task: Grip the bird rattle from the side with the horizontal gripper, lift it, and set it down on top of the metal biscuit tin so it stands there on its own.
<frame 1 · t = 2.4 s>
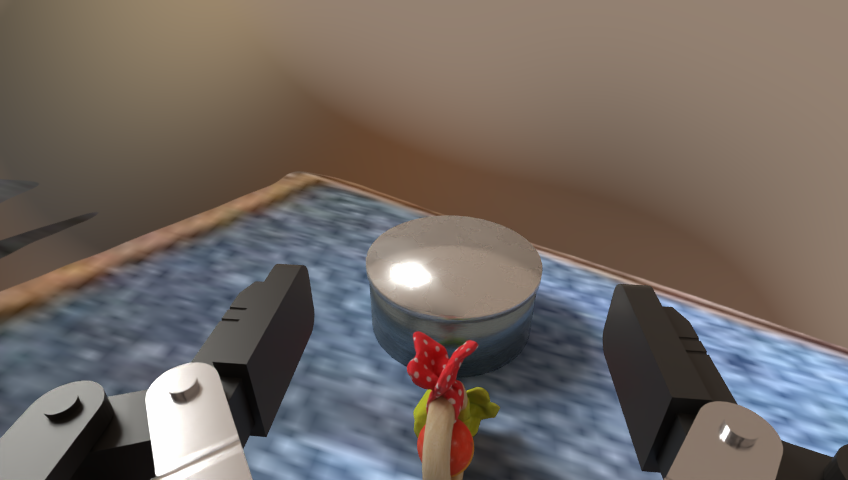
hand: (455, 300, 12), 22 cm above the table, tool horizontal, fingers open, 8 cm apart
bird rattle: (450, 464, 32), on the table
biscuit tin: (450, 318, 45), on the table
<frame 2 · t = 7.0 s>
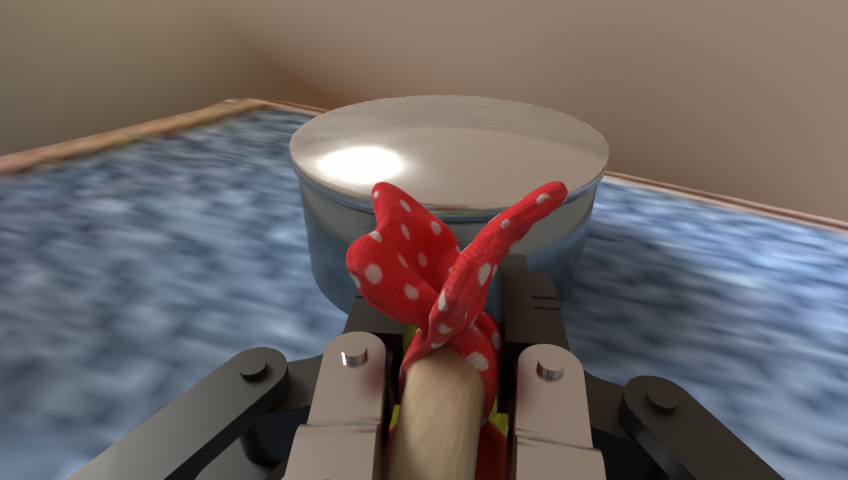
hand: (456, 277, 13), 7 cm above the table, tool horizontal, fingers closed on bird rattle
biscuit tin: (443, 251, 27), on the table
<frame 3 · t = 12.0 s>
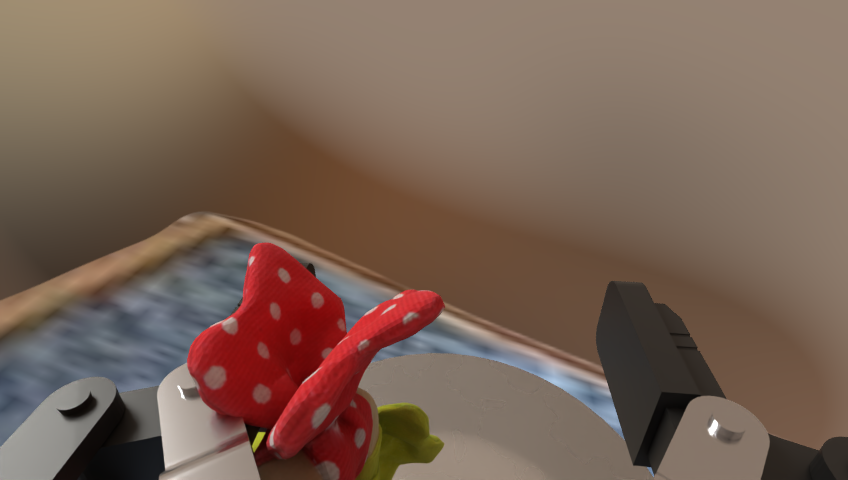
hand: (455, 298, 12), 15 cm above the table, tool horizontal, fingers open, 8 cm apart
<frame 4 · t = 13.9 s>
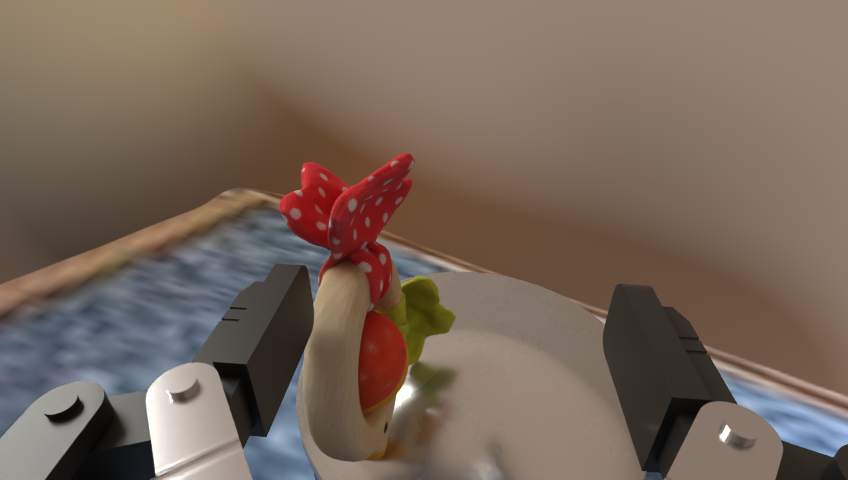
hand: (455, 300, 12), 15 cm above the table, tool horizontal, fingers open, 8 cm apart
bird rattle: (375, 403, 20), point 7 cm above the table, touching biscuit tin
biscuit tin: (464, 463, 25), on the table, touching bird rattle
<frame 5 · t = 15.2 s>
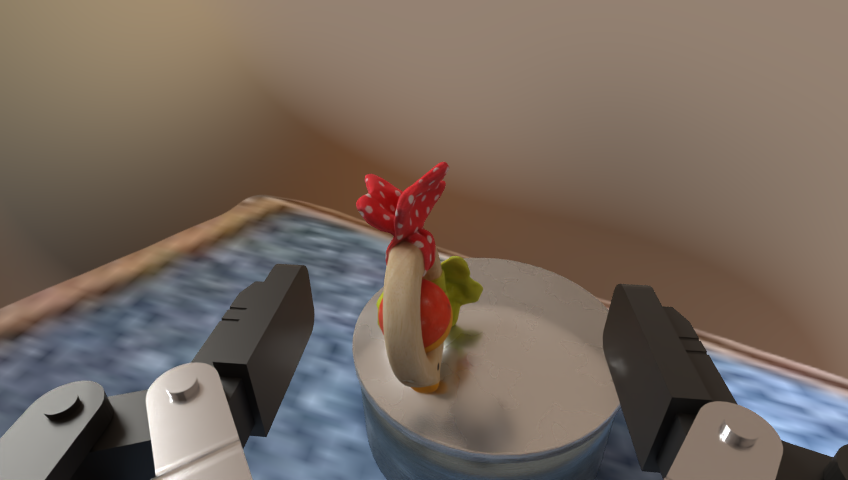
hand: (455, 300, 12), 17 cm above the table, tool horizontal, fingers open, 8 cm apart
bird rattle: (425, 357, 25), point 7 cm above the table, touching biscuit tin
biscuit tin: (482, 412, 30), on the table, touching bird rattle
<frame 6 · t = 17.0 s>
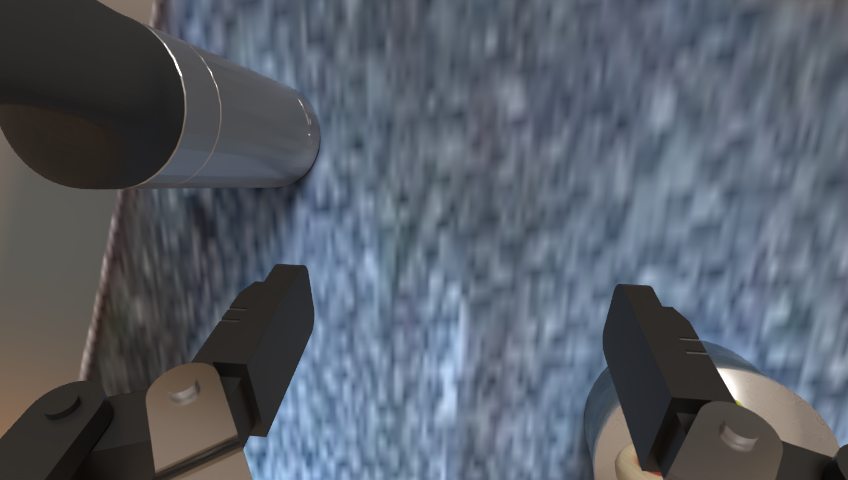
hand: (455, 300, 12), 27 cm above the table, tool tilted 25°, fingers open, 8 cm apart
bird rattle: (676, 438, 32), point 7 cm above the table, touching biscuit tin
biscuit tin: (679, 426, 38), on the table, touching bird rattle
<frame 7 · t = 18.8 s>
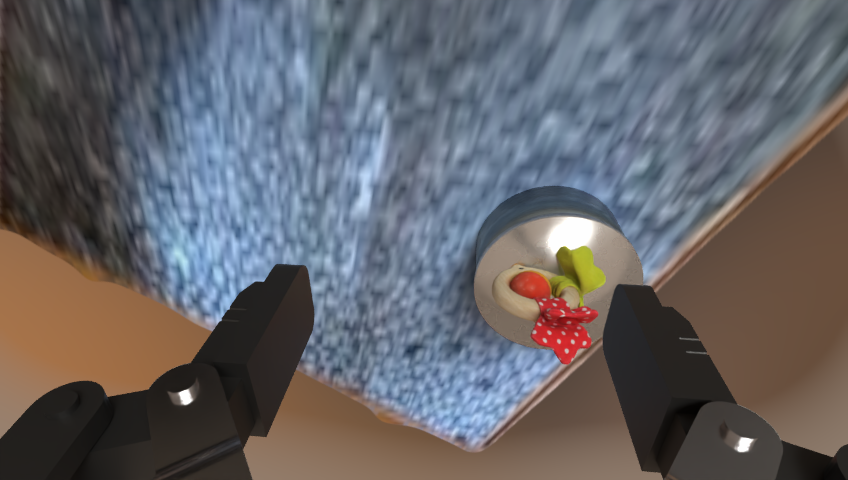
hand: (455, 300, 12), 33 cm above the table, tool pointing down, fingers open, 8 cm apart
bird rattle: (541, 267, 43), point 7 cm above the table, touching biscuit tin
biscuit tin: (546, 249, 50), on the table, touching bird rattle
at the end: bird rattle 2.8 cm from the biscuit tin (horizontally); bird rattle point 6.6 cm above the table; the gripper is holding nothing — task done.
